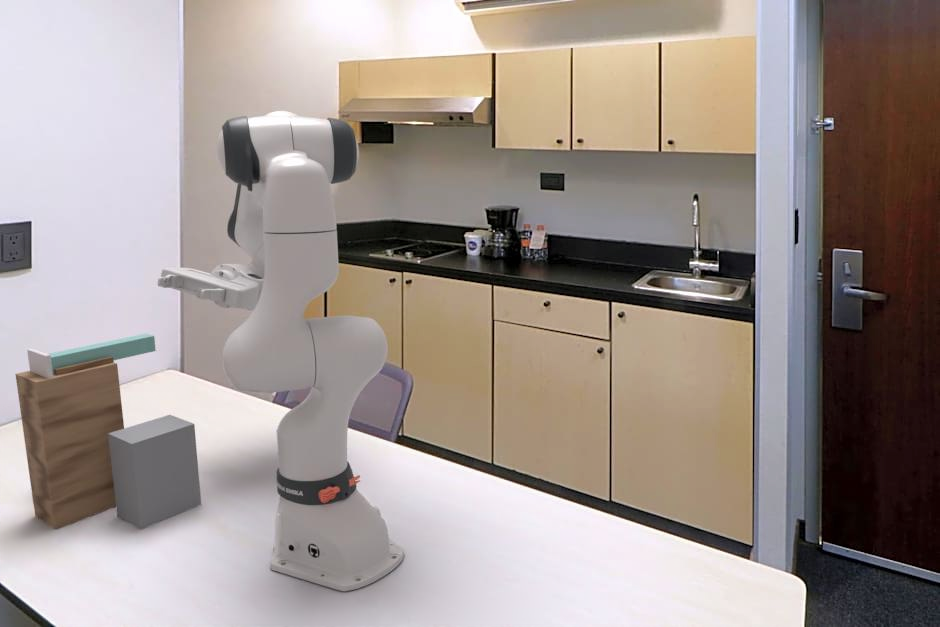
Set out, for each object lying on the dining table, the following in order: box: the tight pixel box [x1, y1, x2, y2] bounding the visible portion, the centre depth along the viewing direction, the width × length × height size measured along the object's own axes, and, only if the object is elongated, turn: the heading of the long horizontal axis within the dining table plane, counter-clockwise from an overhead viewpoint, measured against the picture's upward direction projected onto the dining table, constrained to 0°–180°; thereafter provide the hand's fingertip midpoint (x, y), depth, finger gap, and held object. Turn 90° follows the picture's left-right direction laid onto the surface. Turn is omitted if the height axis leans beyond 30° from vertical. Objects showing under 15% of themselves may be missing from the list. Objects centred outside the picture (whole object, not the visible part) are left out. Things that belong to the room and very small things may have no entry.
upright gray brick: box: [108, 414, 202, 530], centre depth 137 cm, size 8×12×16 cm, turn 143°
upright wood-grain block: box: [15, 357, 125, 530], centre depth 137 cm, size 8×14×28 cm, turn 143°
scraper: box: [27, 333, 157, 379], centre depth 138 cm, size 7×21×4 cm, turn 143°
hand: (179, 288), depth 139 cm, fingers open, 8 cm apart
